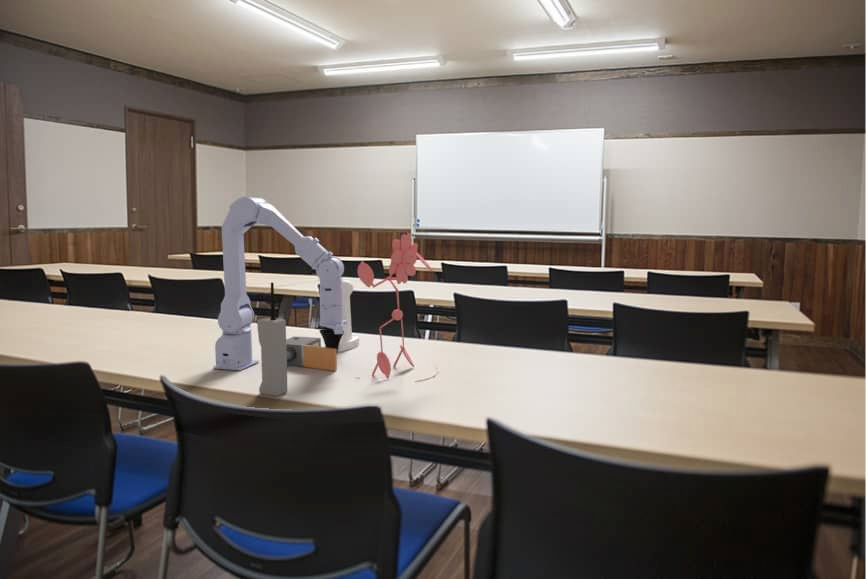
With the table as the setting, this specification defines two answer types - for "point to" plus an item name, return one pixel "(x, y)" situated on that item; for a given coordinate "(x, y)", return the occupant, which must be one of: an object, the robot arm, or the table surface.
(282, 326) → the vintage mobile phone
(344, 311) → the joystick
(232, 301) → the robot arm
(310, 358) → the side door
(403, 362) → the table surface
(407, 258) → the figurine
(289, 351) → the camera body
